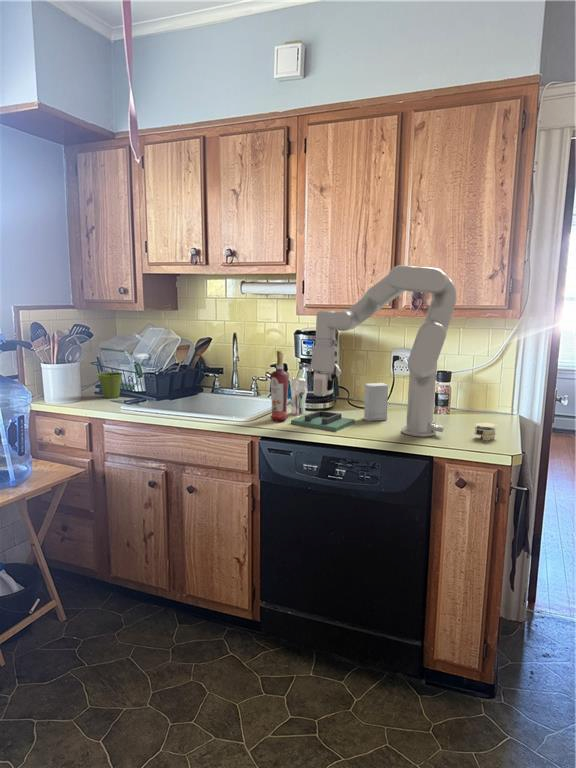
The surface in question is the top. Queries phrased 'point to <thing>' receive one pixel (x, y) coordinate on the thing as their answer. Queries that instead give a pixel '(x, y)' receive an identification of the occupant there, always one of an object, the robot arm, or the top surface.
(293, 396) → the beer glass
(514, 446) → the top surface
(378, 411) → the skincare box
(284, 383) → the liquor
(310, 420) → the socket board
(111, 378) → the plant pot
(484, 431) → the stacked layers on plate
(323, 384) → the keyed plug
